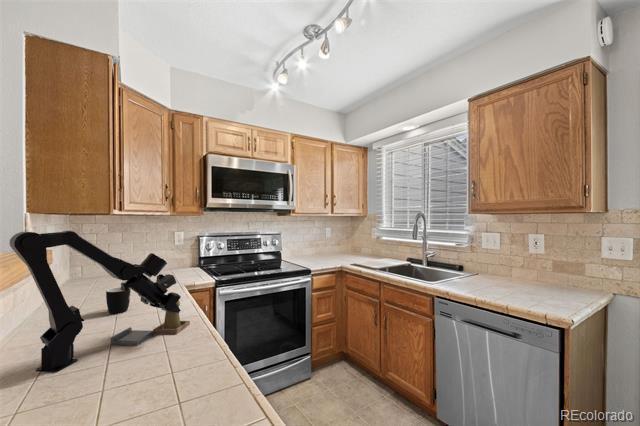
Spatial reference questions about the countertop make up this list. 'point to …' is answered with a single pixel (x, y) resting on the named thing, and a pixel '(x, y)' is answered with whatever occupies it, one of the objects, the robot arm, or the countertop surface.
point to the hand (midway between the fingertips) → (175, 310)
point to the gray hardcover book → (130, 337)
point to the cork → (172, 319)
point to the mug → (117, 300)
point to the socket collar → (171, 331)
